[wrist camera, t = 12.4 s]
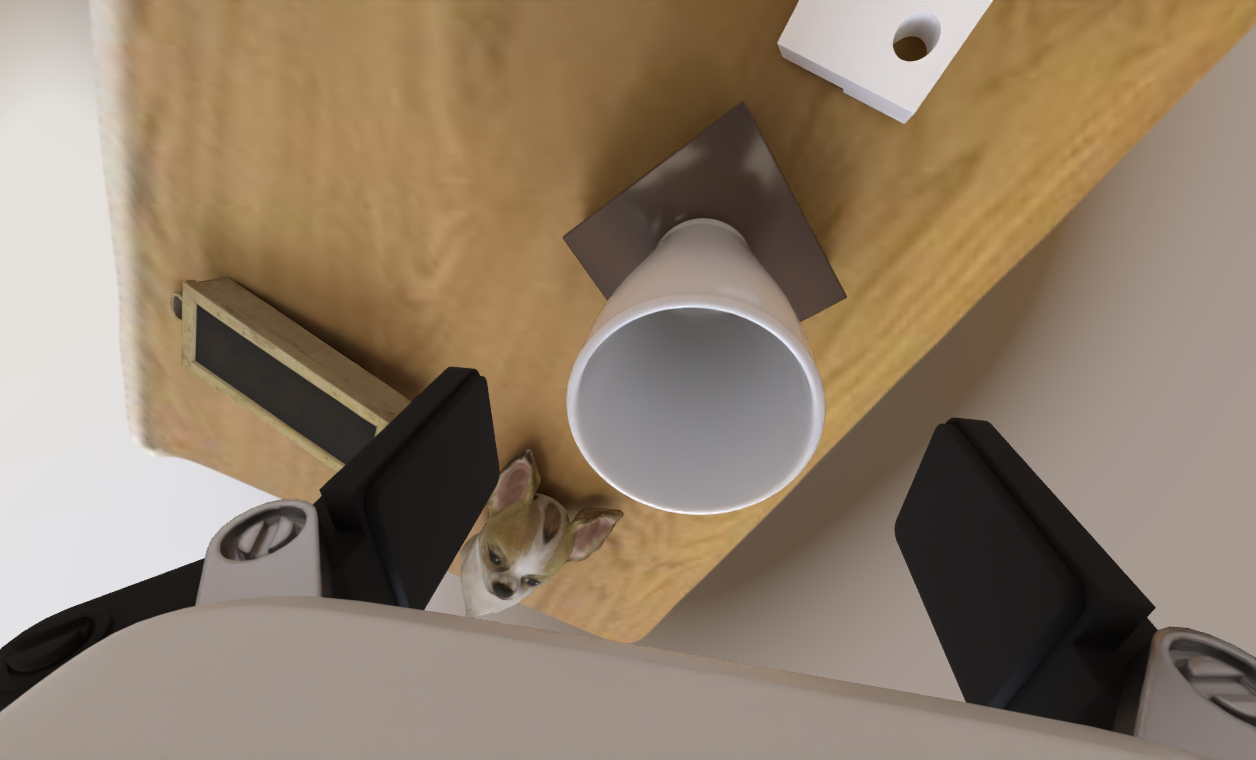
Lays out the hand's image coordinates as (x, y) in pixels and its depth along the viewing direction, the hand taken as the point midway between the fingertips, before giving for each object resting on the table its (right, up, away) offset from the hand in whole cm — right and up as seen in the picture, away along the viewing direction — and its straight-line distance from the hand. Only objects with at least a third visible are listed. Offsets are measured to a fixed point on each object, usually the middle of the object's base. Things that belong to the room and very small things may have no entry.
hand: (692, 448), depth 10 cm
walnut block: (+3, +10, +19) cm, 22 cm away
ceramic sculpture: (-9, -10, +33) cm, 36 cm away
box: (-27, +3, +29) cm, 40 cm away
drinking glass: (+3, +8, +15) cm, 17 cm away
